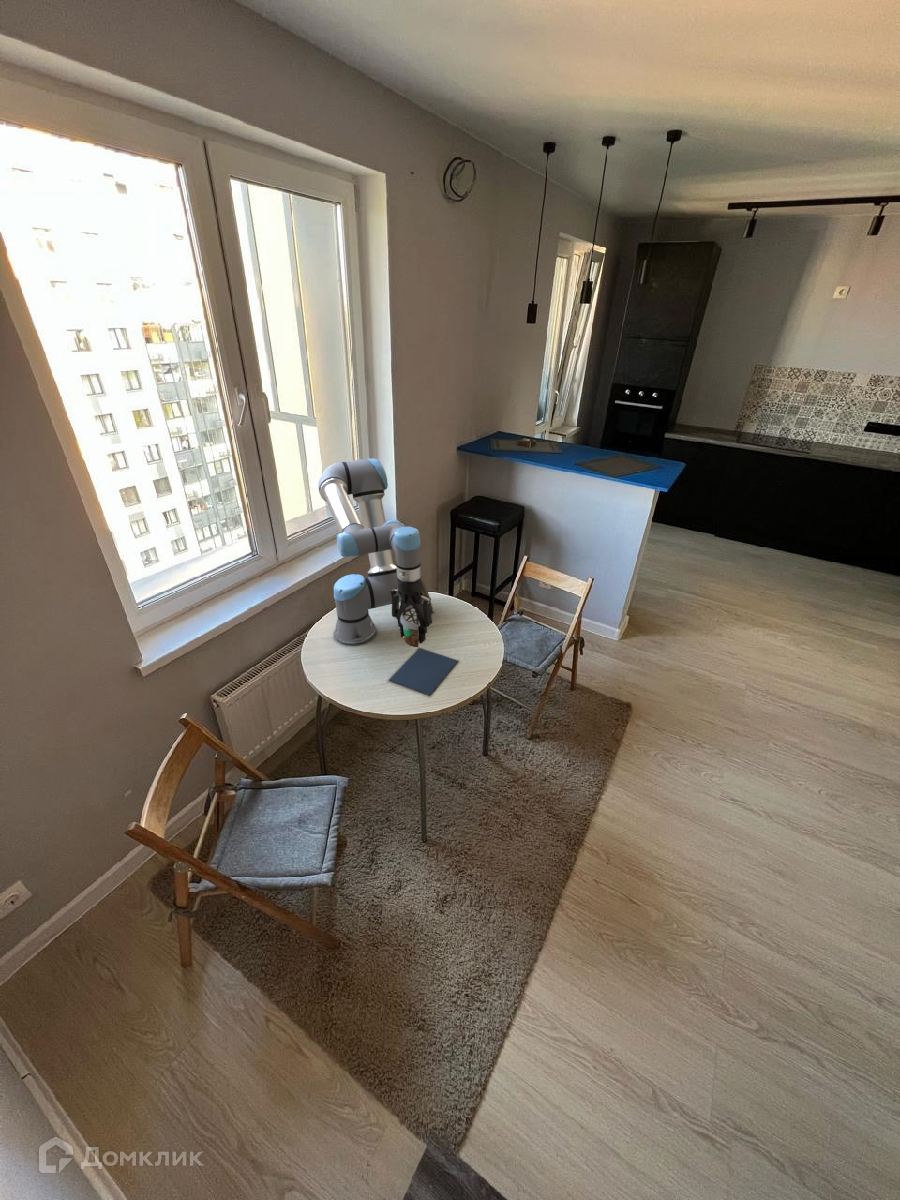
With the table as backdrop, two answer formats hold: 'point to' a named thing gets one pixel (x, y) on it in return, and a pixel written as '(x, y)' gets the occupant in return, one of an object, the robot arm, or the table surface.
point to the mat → (424, 671)
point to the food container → (410, 626)
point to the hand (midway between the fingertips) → (412, 638)
